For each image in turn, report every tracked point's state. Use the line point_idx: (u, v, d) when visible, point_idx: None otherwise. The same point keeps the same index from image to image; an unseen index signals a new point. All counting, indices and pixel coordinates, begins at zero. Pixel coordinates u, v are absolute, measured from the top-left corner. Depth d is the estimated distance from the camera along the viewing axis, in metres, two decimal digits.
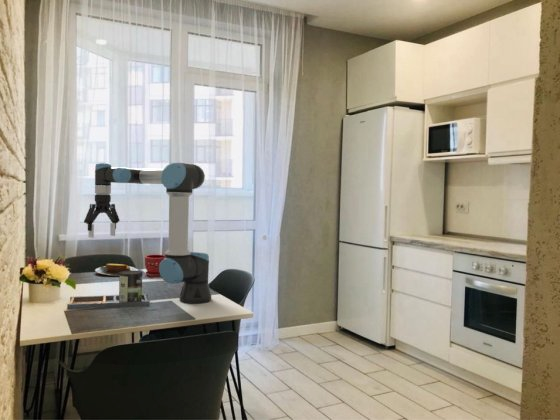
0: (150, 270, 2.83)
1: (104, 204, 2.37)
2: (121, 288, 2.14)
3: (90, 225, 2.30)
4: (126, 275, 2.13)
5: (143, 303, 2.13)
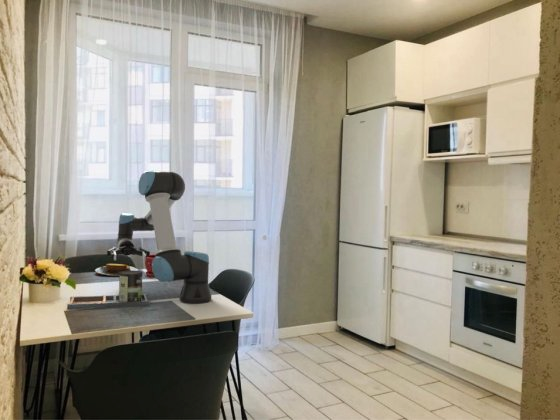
0: (150, 270, 2.83)
1: (127, 247, 2.41)
2: (121, 288, 2.14)
3: (112, 252, 2.29)
4: (126, 275, 2.13)
5: (143, 303, 2.13)
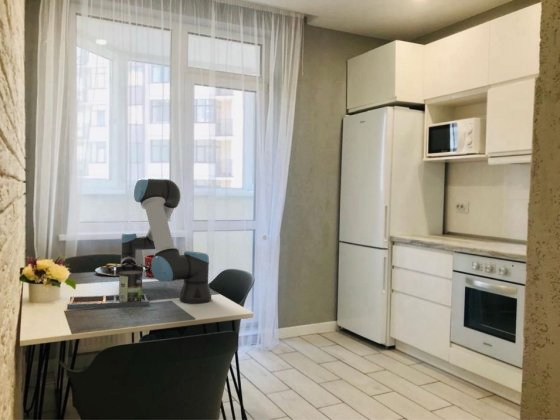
0: (150, 270, 2.83)
1: (129, 264, 2.43)
2: (121, 288, 2.14)
3: (112, 269, 2.31)
4: (126, 275, 2.13)
5: (143, 303, 2.13)
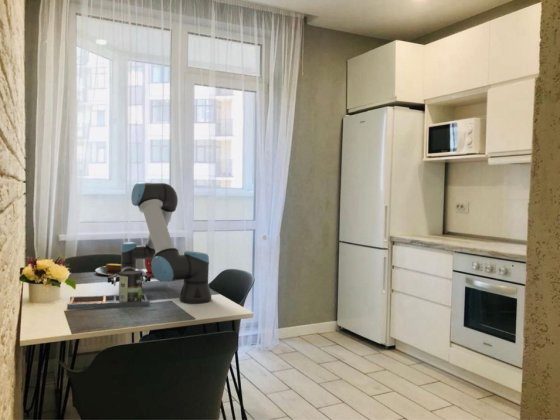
0: (150, 270, 2.83)
1: None
2: (121, 288, 2.14)
3: (112, 279, 2.29)
4: (126, 275, 2.13)
5: (143, 303, 2.13)
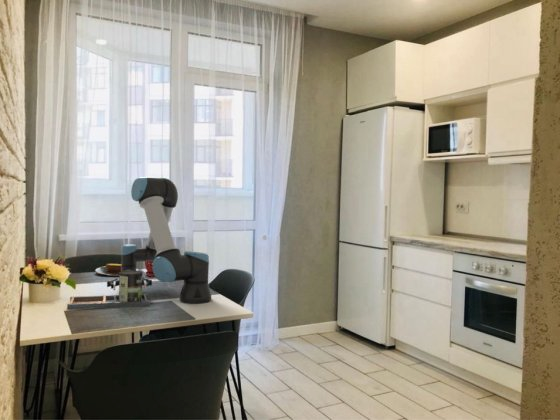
0: (150, 270, 2.83)
1: None
2: (121, 288, 2.14)
3: (112, 283, 2.20)
4: (126, 275, 2.13)
5: (143, 303, 2.13)
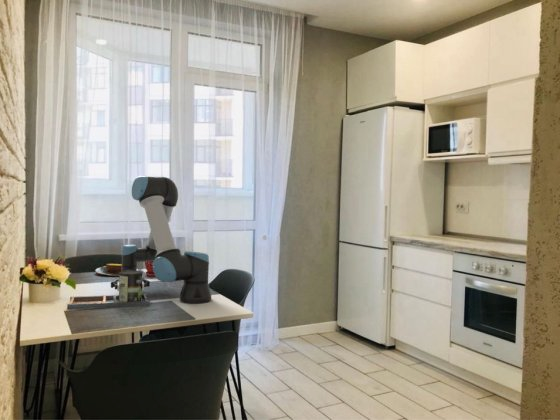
0: (150, 270, 2.83)
1: None
2: (121, 288, 2.14)
3: (116, 284, 2.18)
4: (126, 275, 2.13)
5: (143, 303, 2.13)
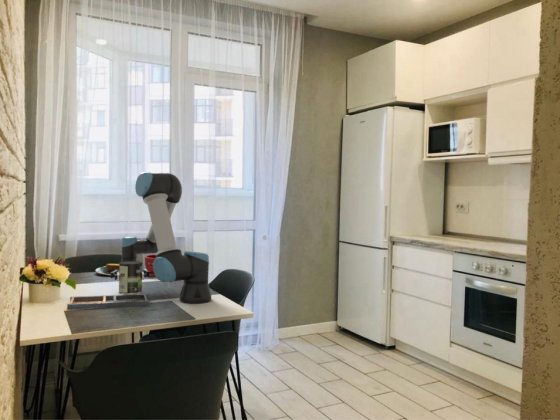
0: (150, 270, 2.83)
1: None
2: (121, 278, 2.14)
3: (115, 274, 2.18)
4: (126, 265, 2.13)
5: (143, 303, 2.13)
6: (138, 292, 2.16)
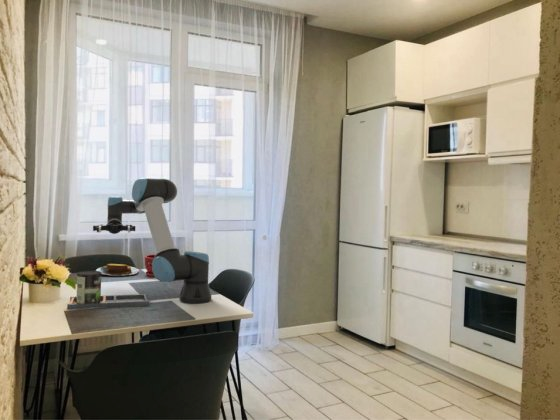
0: (150, 270, 2.83)
1: (114, 224, 2.48)
2: (78, 289, 2.08)
3: None
4: (83, 275, 2.07)
5: (143, 303, 2.13)
6: None
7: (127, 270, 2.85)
